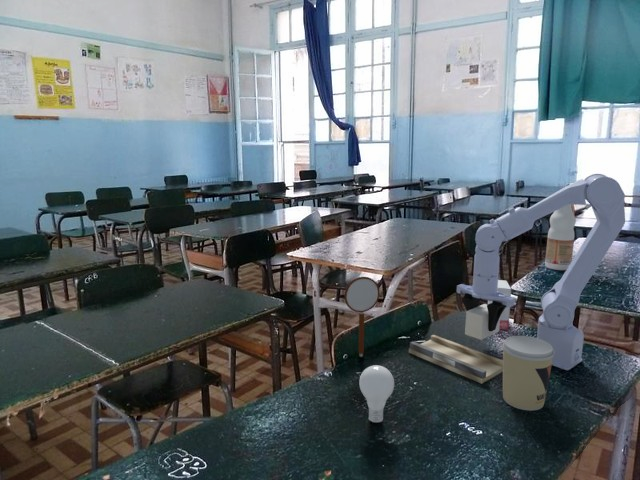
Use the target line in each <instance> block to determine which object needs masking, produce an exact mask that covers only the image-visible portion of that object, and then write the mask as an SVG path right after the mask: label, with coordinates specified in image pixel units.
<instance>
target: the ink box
mask: <svg viewBox="0 0 640 480" xmlns="http://www.w3.org/2000/svg"><path fill="white" fill-rule="evenodd" d="M497 291H498V292H500V293H503V294H505V295H507V296H510V297H512V287H511V286H510V285H509V283H508V281H507V280H503V279H498V288H497ZM490 303H492V301H488V300H487V305H488V304H490ZM510 312H511V307H506V308H505V309H504V311H503V312H502V314H501V316H500V326H499V330H509V326H510V325H509V324H510V314H511V313H510Z"/></svg>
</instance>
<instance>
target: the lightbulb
mask: <svg viewBox="0 0 640 480" xmlns="http://www.w3.org/2000/svg"><path fill="white" fill-rule="evenodd" d="M358 380H359V382H358V383H359V389H360V391H361V394H362V395H363V397H364V398H365V400H366V404H367V406H368V420H369V421H370V422H372V423H374V424H377V423H381V422H383V420H384V409H385V406H386V402H387V400H388V399H389V397H391V396H392V394H393V392H394V388H395V380H394V376H393V374H392V372H391V371H390V370H389V369H388V368H386V367H385V366H382V365H376V364H375V365H374V364H373V365H370V366H368V367H366V368H365V369H364V370H363V371H362V373H361V374H360V376H359V379H358Z"/></svg>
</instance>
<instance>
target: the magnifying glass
mask: <svg viewBox="0 0 640 480" xmlns="http://www.w3.org/2000/svg"><path fill="white" fill-rule="evenodd" d="M379 298H380V287H379V285H378V283H377V281H375V280H374V279H373V278H371V277H369V276H359V277H356V278H354V279H352V280H351V281H350V282H349V283H348V285H347V286H346V287H345V290H344V302H345V304H346V306H347V307H348V308H349V309H350V310H351V311H353V312H356V313H359V314H358V317H359V318H358V354H359V357H360V358H362V357H363V355H364V351H365V350H364V348H365V346H364V345H365V344H364V342H365V313H366V312H368V311H371V310H372V308H374V307H375V306H376V305H377V303H378V300H379Z"/></svg>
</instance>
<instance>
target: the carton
mask: <svg viewBox="0 0 640 480" xmlns="http://www.w3.org/2000/svg"><path fill="white" fill-rule="evenodd" d="M487 305H488V303H487V304H486V303H483V304H481V305H480V304H479V306H478V307H476V308H473V309H471V310H468V311H467V310H466V312H465V325H464V326H465V329H464V335H466V336H468V337H471V338H474V339H478V340H480V341H482V340H484V339H486V338H488V337H490V336H493V335H495V334H496V333H498V332H500V329H499V326H500V318H499V320H498V323H497V326H496V329H495V330H493V331H489V330H488V322H489V315H488V309H487Z"/></svg>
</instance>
